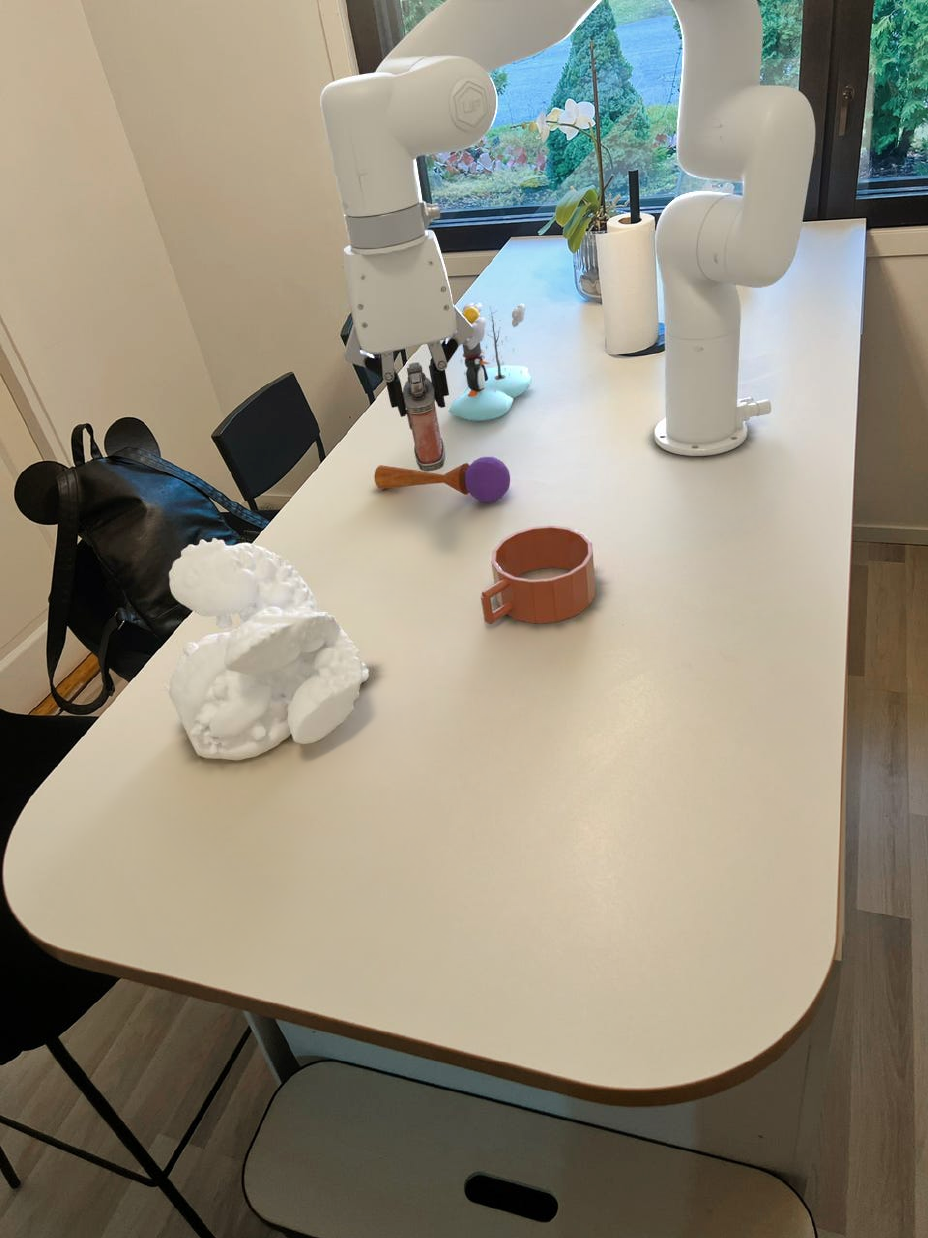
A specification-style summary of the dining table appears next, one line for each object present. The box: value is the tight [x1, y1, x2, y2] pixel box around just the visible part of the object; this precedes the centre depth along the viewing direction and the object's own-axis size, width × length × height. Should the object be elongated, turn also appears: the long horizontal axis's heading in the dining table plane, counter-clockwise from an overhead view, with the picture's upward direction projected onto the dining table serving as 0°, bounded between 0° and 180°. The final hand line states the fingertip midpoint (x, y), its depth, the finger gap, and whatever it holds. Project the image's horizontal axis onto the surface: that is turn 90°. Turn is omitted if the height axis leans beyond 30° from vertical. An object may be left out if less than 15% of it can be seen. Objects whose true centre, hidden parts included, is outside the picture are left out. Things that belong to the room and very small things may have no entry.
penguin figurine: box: [448, 302, 532, 422], centre depth 139 cm, size 20×11×15 cm, turn 157°
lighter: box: [402, 362, 446, 473], centre depth 94 cm, size 8×3×10 cm, turn 5°
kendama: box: [373, 456, 511, 503], centre depth 119 cm, size 6×6×20 cm
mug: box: [480, 525, 597, 625], centre depth 96 cm, size 14×11×6 cm
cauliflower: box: [164, 537, 370, 761], centre depth 85 cm, size 19×20×20 cm
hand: (420, 405), depth 94 cm, fingers closed on lighter, 3 cm apart
